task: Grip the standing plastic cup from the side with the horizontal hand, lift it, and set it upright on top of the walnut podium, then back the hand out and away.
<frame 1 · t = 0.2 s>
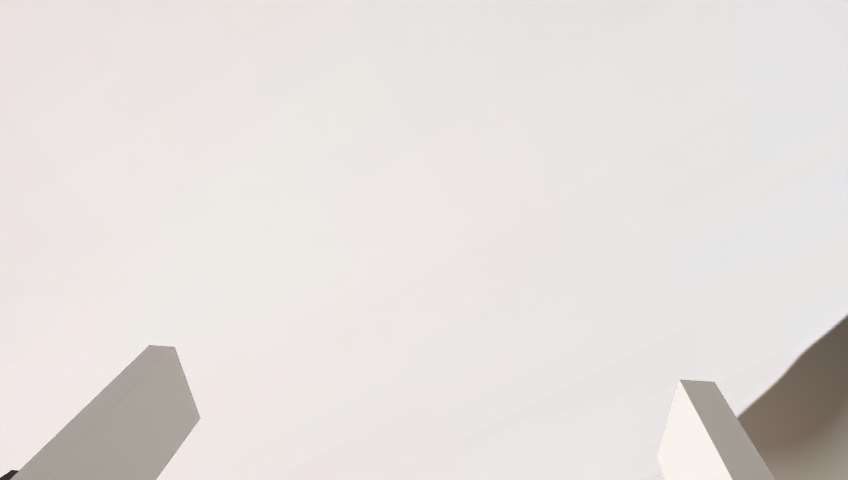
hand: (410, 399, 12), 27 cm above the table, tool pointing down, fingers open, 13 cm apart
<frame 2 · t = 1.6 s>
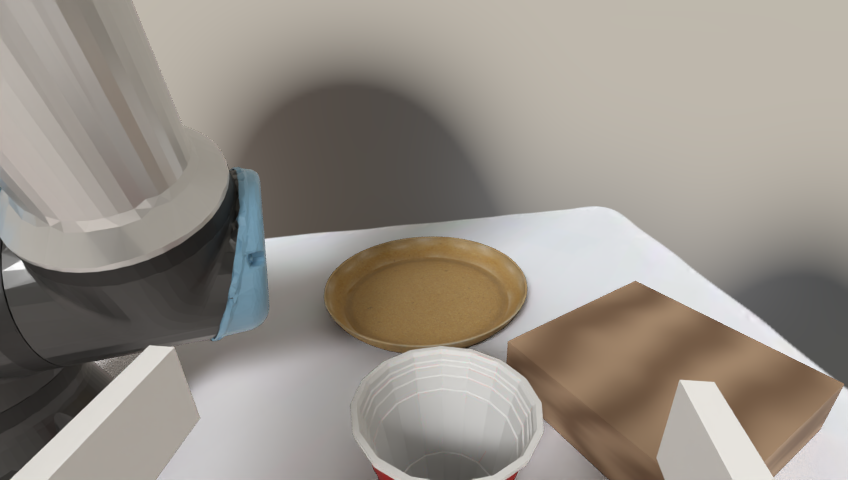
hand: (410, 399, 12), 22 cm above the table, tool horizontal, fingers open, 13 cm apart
plant saucer: (425, 303, 55), on the table
walnut podium: (651, 404, 39), on the table
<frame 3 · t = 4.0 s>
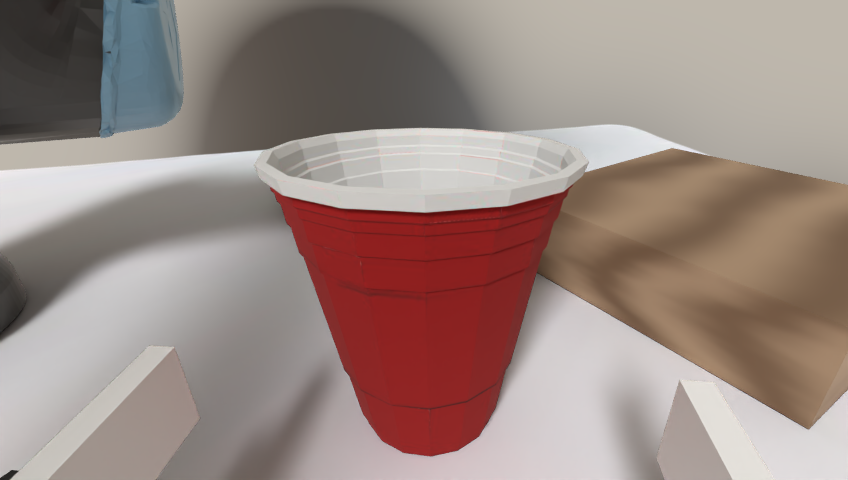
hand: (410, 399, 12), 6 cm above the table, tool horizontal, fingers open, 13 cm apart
plastic cup: (430, 401, 20), on the table
walnut podium: (706, 272, 29), on the table
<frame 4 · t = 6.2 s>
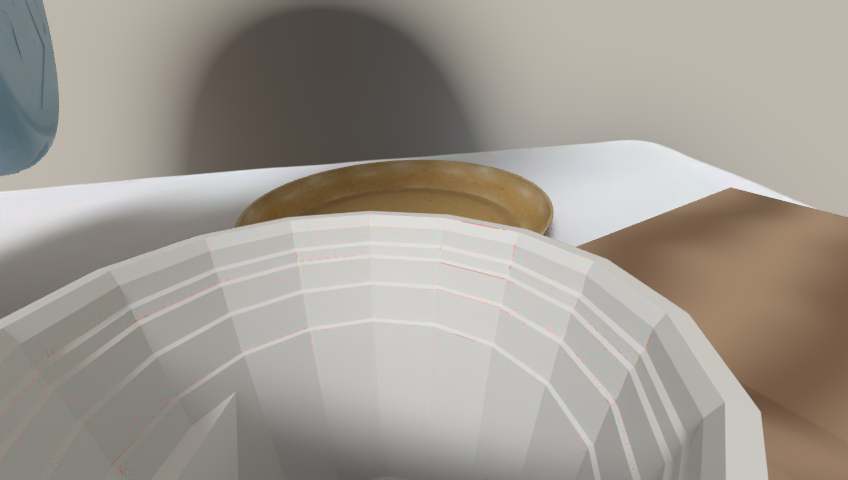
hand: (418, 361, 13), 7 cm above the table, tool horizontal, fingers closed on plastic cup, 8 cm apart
plant saucer: (398, 240, 36), on the table
walnut podium: (802, 380, 21), on the table
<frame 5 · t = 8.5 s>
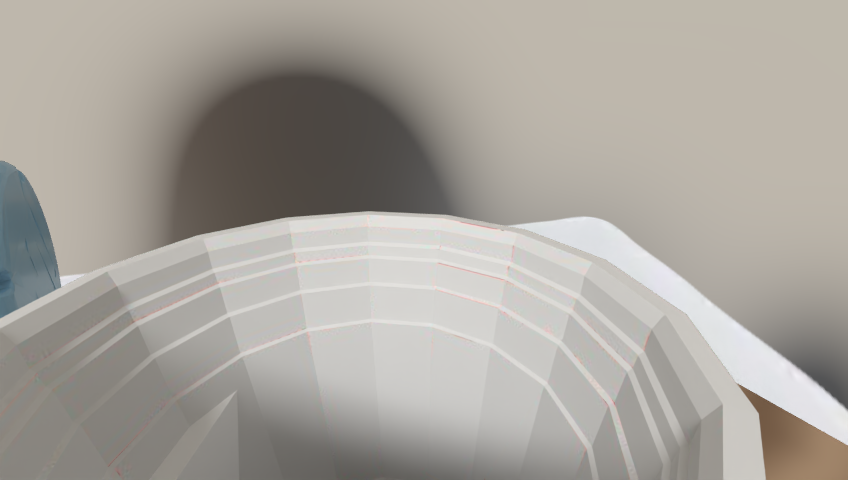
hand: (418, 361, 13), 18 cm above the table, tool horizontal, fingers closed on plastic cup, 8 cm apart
when the fingers open (12 cm above the table, at t = 11.1 s): plastic cup stays where it is, resting on walnut podium.
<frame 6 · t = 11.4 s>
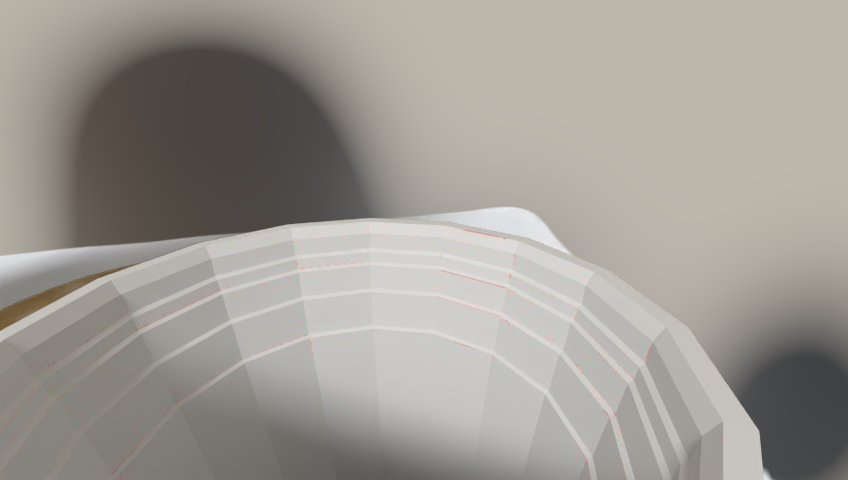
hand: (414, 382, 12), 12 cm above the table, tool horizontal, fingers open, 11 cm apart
plant saucer: (126, 383, 30), on the table
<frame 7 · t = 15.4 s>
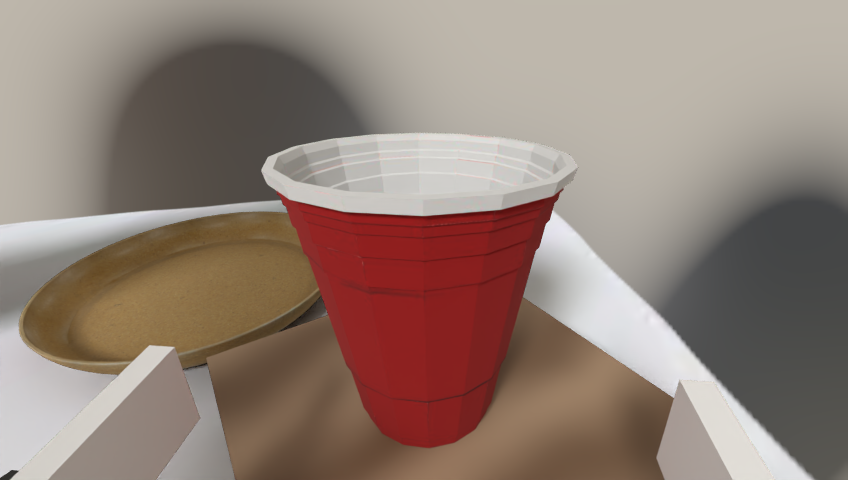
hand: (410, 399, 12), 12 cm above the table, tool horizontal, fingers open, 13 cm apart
plant saucer: (209, 298, 39), on the table
plastic cup: (429, 396, 21), point 5 cm above the table, touching walnut podium
walnut podium: (438, 464, 23), on the table
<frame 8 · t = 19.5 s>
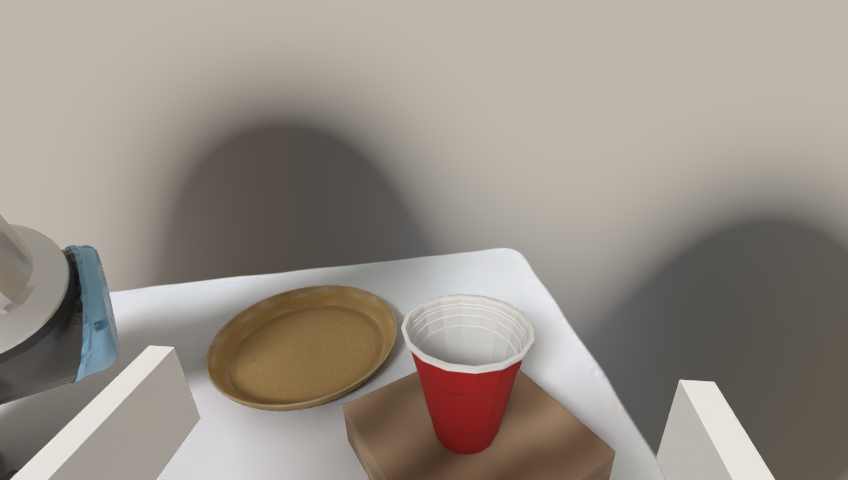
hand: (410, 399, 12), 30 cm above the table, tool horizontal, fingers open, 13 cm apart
plant saucer: (309, 354, 59), on the table
plastic cup: (466, 428, 41), point 5 cm above the table, touching walnut podium
walnut podium: (469, 462, 43), on the table
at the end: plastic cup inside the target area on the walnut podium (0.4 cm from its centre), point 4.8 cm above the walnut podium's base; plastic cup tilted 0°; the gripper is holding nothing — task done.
